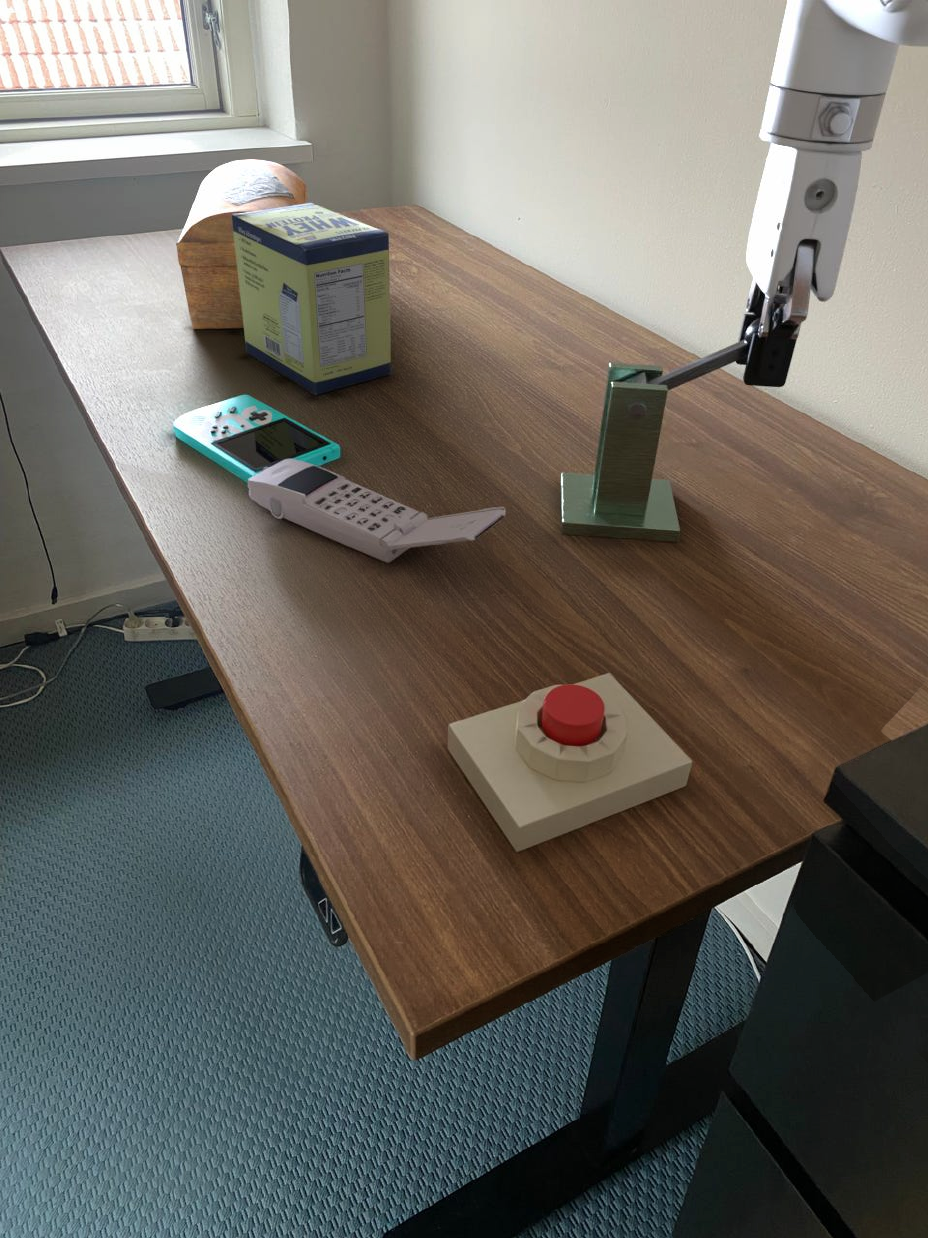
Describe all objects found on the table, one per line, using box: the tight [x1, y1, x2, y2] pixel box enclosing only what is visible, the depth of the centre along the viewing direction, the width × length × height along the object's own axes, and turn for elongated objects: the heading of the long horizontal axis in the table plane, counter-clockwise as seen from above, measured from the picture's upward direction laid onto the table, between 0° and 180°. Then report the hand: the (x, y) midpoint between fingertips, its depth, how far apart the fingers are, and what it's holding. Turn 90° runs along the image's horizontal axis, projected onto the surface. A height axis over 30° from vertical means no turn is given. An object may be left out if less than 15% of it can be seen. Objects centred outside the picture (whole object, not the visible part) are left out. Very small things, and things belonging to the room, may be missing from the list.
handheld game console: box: [172, 394, 341, 484], centre depth 91 cm, size 10×16×1 cm, turn 45°
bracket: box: [559, 362, 681, 543], centre depth 79 cm, size 10×9×13 cm
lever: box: [623, 318, 761, 391], centre depth 74 cm, size 14×3×3 cm, turn 85°
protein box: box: [231, 202, 392, 396], centre depth 103 cm, size 10×16×16 cm
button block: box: [447, 672, 693, 853], centre depth 57 cm, size 12×9×4 cm
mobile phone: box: [247, 459, 507, 564], centre depth 76 cm, size 6×6×25 cm
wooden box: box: [175, 159, 309, 330], centre depth 123 cm, size 30×16×14 cm, turn 7°
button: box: [541, 684, 605, 746], centre depth 55 cm, size 4×4×2 cm
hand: (758, 371), depth 74 cm, fingers closed on lever, 3 cm apart
